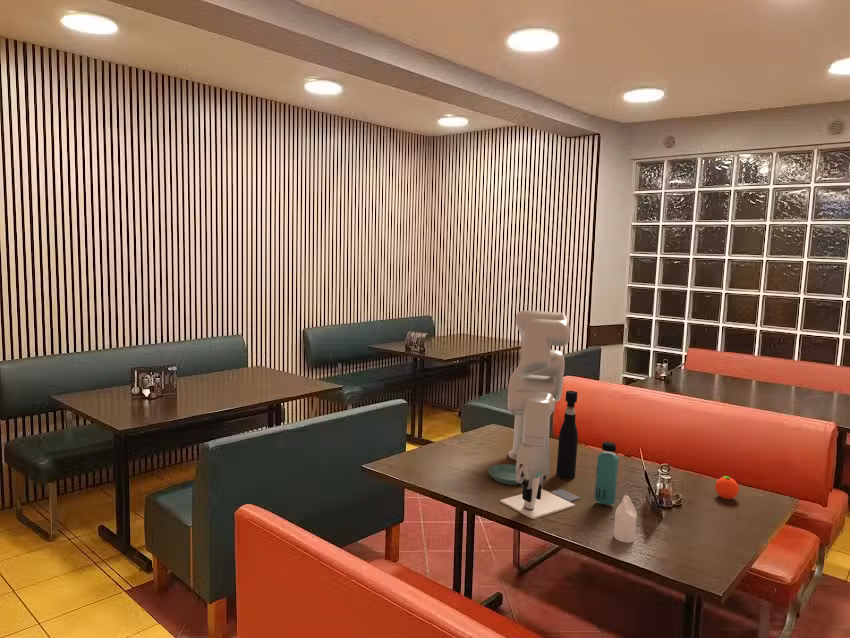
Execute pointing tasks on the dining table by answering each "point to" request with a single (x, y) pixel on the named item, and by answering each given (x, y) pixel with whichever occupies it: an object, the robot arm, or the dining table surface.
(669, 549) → the dining table surface
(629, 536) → the white tapered cylinder
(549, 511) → the pad
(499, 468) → the saucer
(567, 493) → the plate
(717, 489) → the clementine
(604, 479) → the beverage bottle
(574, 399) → the black bottle
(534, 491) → the marker
